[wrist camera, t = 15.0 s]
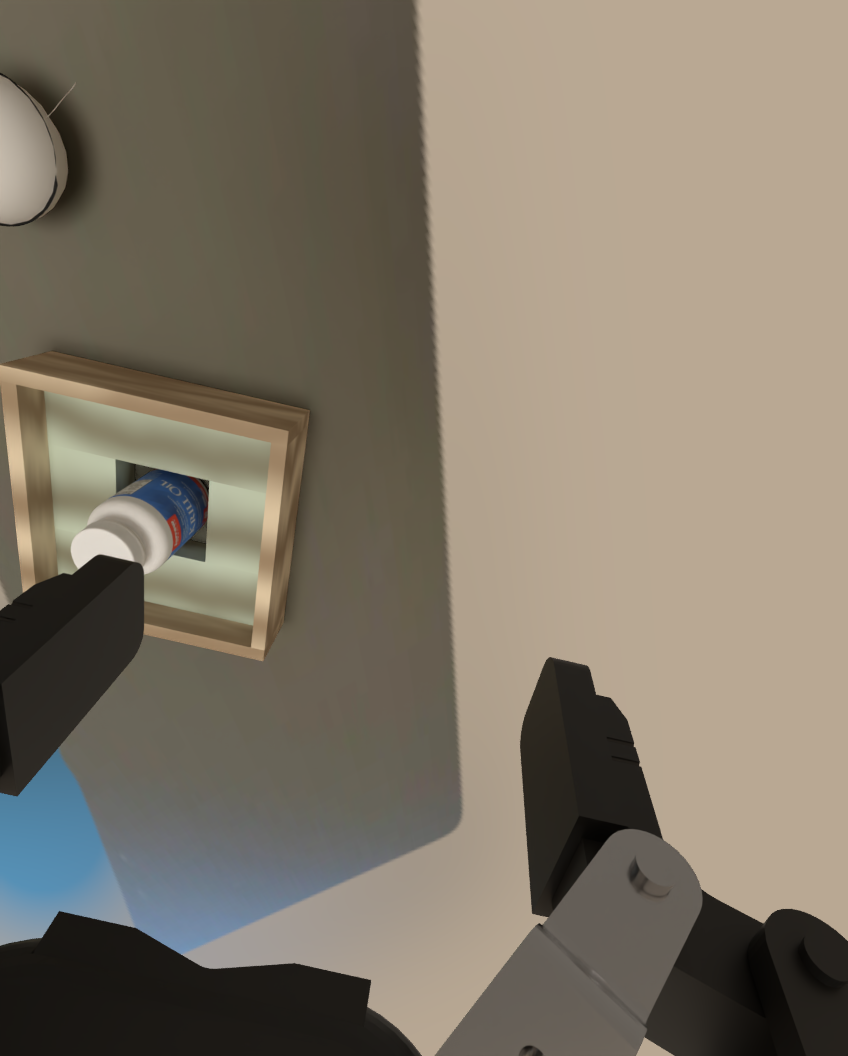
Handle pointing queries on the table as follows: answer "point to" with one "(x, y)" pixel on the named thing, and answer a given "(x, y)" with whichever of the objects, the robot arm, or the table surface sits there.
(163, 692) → the table surface
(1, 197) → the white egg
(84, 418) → the bore box
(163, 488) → the pill bottle
